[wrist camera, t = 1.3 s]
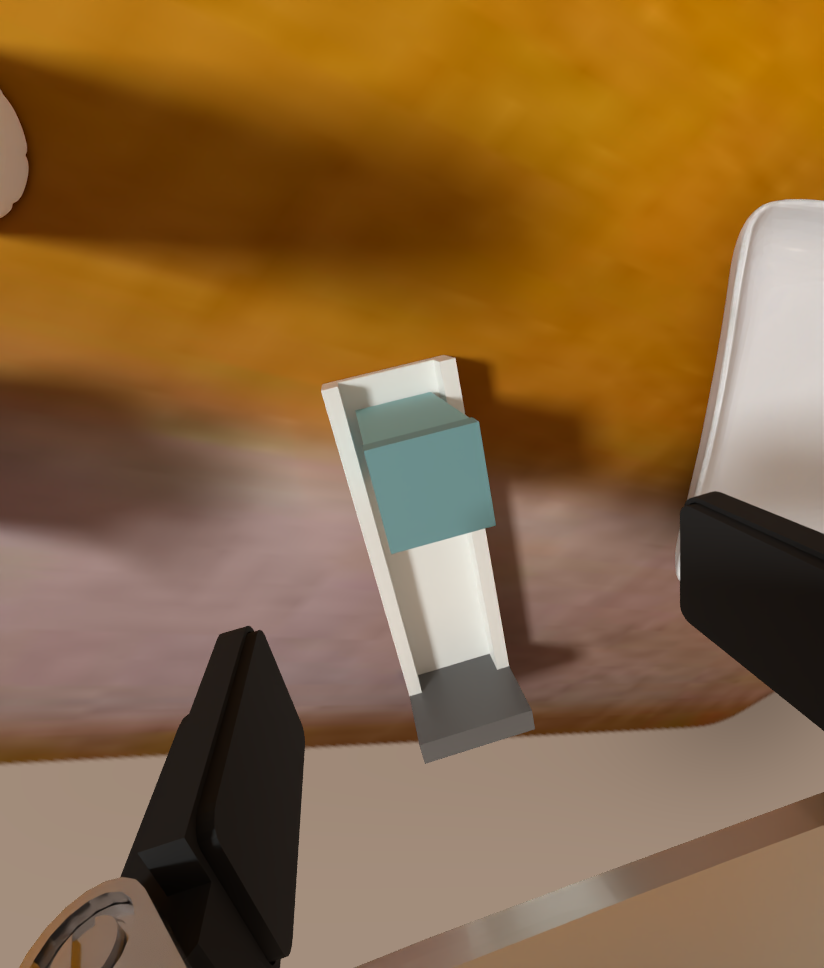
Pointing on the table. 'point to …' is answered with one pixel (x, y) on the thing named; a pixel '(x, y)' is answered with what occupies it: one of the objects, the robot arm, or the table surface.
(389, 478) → the block
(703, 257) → the table surface
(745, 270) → the salad plate
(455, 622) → the channel
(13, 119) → the water bottle
